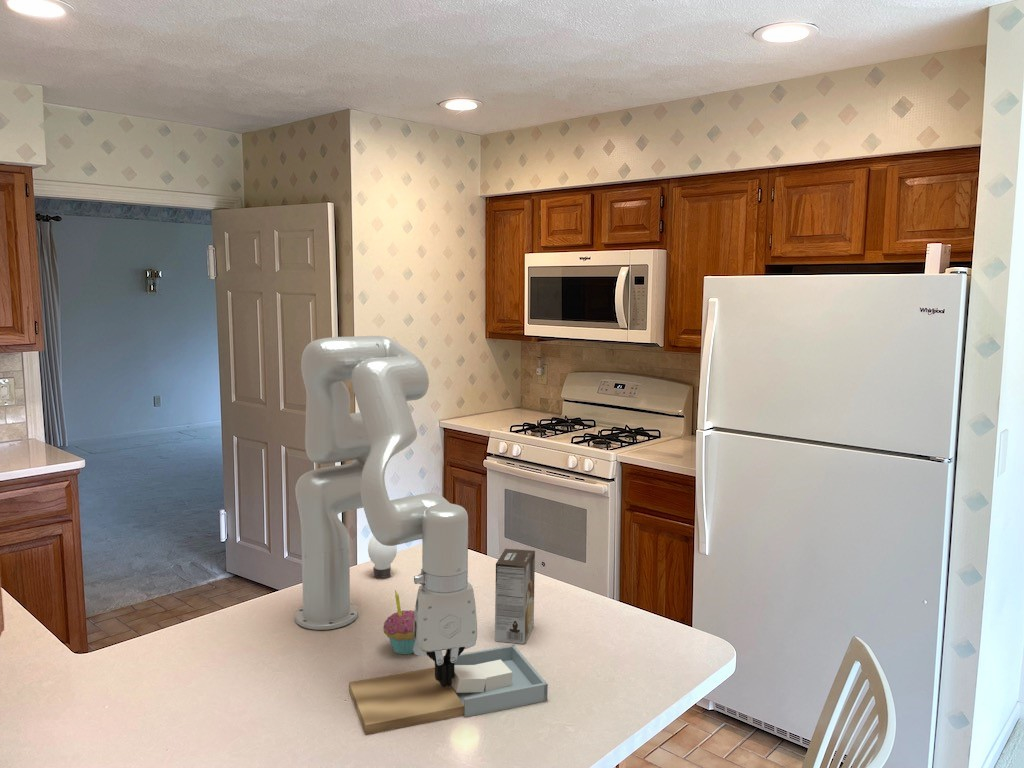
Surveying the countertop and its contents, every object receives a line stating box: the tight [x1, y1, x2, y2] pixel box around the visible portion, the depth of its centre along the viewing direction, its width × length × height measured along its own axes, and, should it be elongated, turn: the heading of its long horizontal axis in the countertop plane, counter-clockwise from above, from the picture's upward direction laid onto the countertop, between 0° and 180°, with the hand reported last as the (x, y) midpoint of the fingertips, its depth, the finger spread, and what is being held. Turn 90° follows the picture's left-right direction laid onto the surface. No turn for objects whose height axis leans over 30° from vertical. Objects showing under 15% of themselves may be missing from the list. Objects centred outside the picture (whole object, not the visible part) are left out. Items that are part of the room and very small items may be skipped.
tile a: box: [452, 665, 486, 693], centre depth 136 cm, size 5×5×2 cm
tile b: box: [476, 659, 512, 691], centre depth 139 cm, size 5×5×2 cm
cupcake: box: [383, 590, 415, 655], centre depth 151 cm, size 9×8×12 cm
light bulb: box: [367, 534, 398, 580], centre depth 187 cm, size 7×7×11 cm
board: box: [348, 666, 464, 736], centre depth 132 cm, size 14×16×2 cm
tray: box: [443, 644, 549, 718], centre depth 138 cm, size 15×15×3 cm
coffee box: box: [494, 548, 536, 645], centre depth 158 cm, size 9×6×16 cm
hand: (444, 682), depth 134 cm, fingers closed
